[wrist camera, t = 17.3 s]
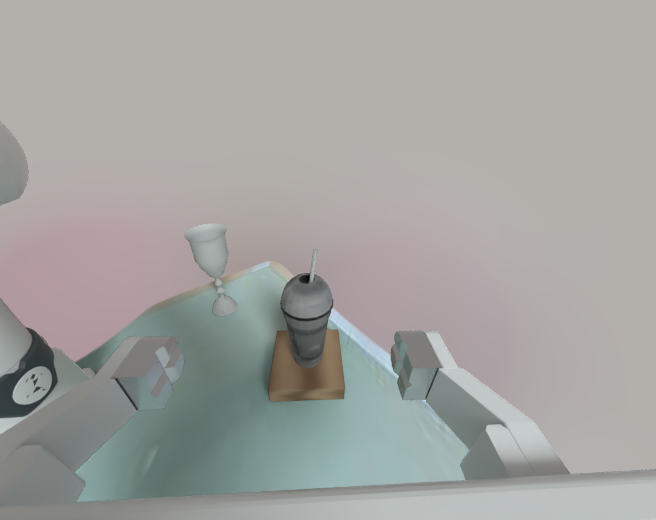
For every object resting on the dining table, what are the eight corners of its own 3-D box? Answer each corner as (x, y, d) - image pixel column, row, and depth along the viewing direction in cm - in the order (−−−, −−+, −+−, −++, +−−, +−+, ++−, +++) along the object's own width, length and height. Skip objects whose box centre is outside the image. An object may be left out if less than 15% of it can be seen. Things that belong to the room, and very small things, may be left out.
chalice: (236, 320, 51) (218, 241, 42) (202, 320, 51) (176, 241, 41) (245, 296, 57) (231, 223, 48) (214, 297, 57) (194, 223, 47)
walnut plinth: (270, 401, 37) (268, 389, 36) (278, 342, 47) (277, 330, 45) (343, 398, 38) (345, 387, 36) (337, 340, 47) (338, 329, 46)
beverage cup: (294, 334, 44) (288, 231, 34) (334, 343, 43) (341, 238, 33) (278, 370, 38) (264, 258, 28) (324, 381, 37) (328, 268, 27)
